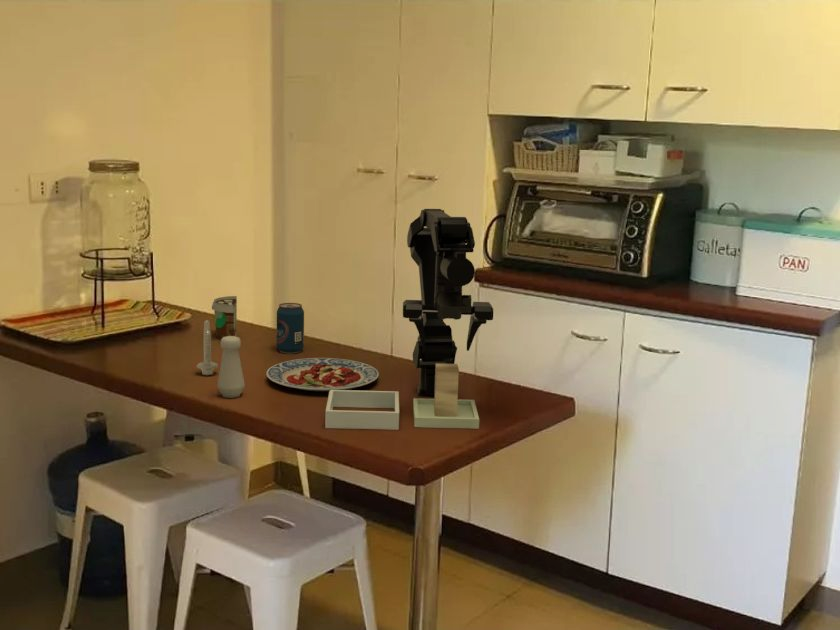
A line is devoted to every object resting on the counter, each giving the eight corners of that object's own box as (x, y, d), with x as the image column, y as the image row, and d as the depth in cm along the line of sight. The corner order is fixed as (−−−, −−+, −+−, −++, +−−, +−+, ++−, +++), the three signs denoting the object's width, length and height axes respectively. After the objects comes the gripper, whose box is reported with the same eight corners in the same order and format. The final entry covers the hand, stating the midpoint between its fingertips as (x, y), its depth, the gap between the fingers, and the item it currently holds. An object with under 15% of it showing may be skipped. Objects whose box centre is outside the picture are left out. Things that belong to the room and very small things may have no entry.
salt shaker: (246, 391, 222) (246, 334, 219) (243, 399, 216) (242, 340, 213) (219, 390, 222) (219, 333, 219) (215, 398, 216) (215, 340, 213)
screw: (216, 370, 237) (219, 376, 233) (195, 371, 236) (197, 377, 231) (216, 316, 234) (218, 321, 230) (195, 317, 233) (197, 322, 228)
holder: (329, 405, 214) (329, 389, 213) (398, 407, 215) (398, 391, 214) (325, 428, 200) (325, 411, 199) (398, 429, 200) (399, 413, 200)
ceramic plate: (310, 360, 250) (310, 349, 249) (399, 378, 237) (399, 366, 236) (242, 384, 228) (242, 372, 227) (336, 405, 215) (337, 392, 215)
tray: (413, 407, 215) (413, 398, 215) (473, 408, 215) (474, 399, 215) (414, 427, 202) (414, 417, 202) (478, 428, 203) (479, 419, 202)
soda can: (271, 350, 257) (271, 304, 255) (293, 346, 262) (293, 301, 259) (286, 355, 253) (287, 309, 250) (309, 351, 257) (309, 305, 254)
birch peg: (433, 409, 211) (435, 363, 209) (455, 409, 211) (457, 364, 209) (434, 416, 206) (436, 369, 204) (456, 416, 207) (458, 369, 204)
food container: (214, 331, 275) (213, 295, 273) (236, 331, 276) (236, 295, 273) (209, 342, 263) (209, 304, 261) (233, 342, 264) (233, 305, 261)
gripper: (404, 283, 200) (402, 358, 204) (497, 285, 201) (493, 361, 204) (403, 273, 211) (401, 345, 215) (492, 275, 212) (488, 347, 215)
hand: (445, 349), depth 212 cm, fingers open, 9 cm apart
